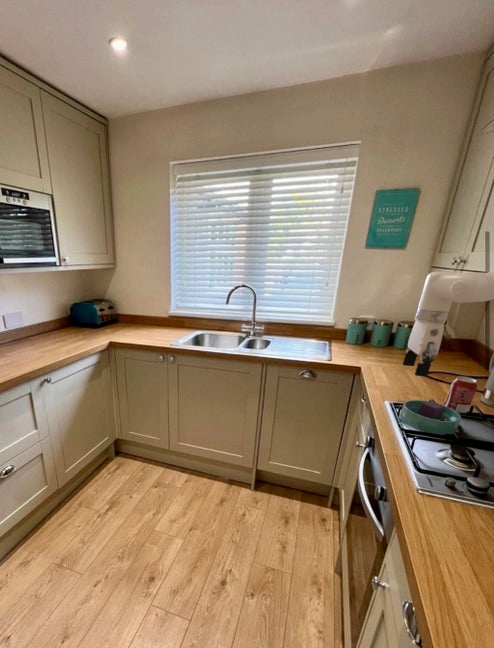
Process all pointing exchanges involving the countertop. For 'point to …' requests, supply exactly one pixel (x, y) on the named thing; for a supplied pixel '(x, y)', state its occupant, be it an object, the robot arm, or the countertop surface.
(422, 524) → the countertop surface
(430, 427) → the bowl
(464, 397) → the soda can
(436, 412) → the snack carton
